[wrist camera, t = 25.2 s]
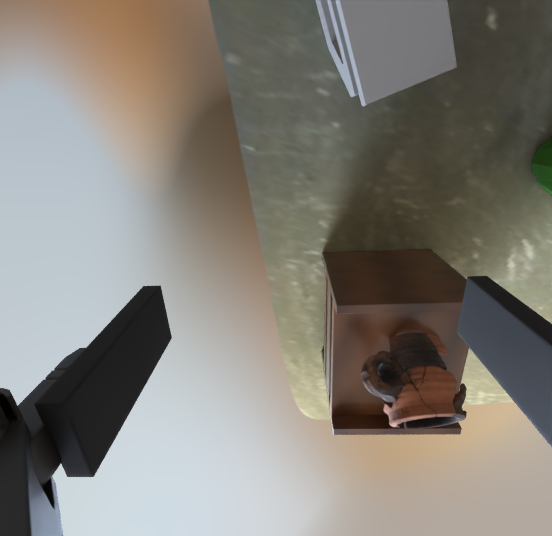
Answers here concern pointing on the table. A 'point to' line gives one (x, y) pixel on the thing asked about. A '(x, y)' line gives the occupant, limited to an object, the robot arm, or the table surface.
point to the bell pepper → (544, 166)
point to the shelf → (384, 327)
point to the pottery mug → (415, 382)
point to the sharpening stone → (387, 43)
